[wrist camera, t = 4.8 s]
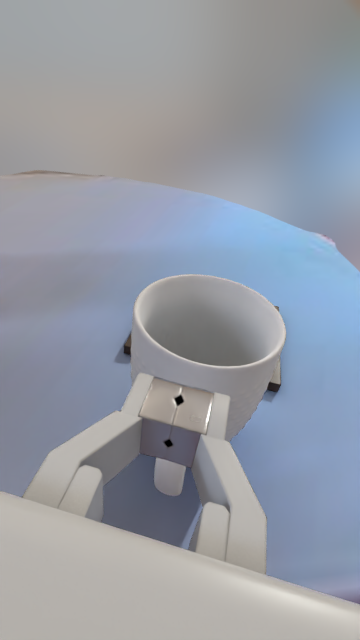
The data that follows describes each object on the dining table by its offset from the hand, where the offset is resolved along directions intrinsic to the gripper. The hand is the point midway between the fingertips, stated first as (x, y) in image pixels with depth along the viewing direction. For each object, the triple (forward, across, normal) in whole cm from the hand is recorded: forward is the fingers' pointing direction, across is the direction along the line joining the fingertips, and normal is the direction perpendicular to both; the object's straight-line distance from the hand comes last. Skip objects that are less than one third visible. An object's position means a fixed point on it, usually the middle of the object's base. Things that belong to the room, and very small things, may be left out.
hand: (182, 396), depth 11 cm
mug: (+11, 0, -18) cm, 21 cm away
